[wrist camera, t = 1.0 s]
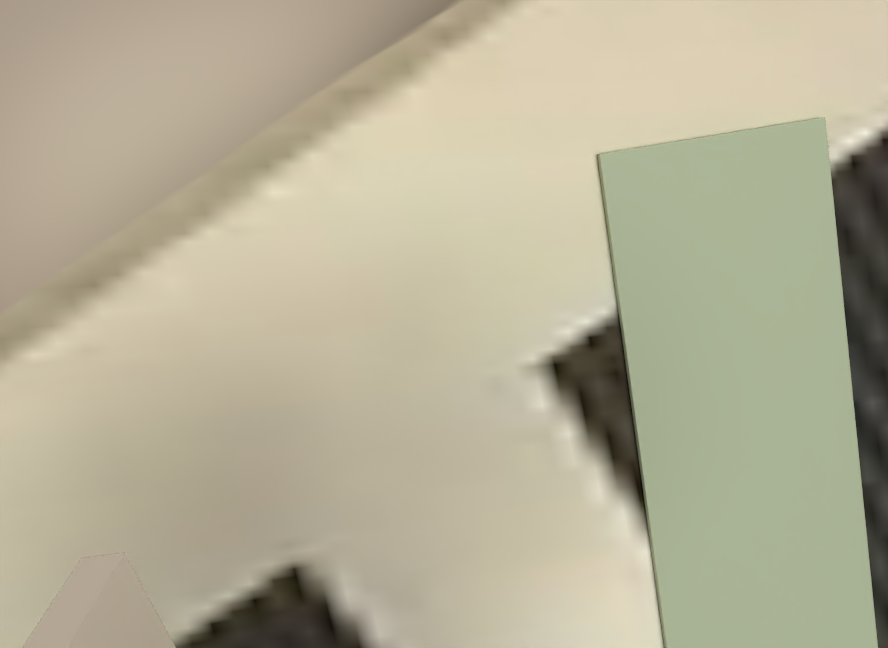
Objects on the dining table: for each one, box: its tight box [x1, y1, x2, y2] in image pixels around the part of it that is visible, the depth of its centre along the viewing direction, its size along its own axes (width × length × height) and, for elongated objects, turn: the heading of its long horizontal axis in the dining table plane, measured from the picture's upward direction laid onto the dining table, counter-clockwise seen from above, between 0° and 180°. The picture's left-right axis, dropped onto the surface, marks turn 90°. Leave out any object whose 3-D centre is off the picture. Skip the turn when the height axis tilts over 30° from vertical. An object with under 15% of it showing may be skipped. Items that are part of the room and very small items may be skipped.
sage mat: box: [597, 117, 878, 648], centre depth 33 cm, size 28×10×1 cm, turn 9°
